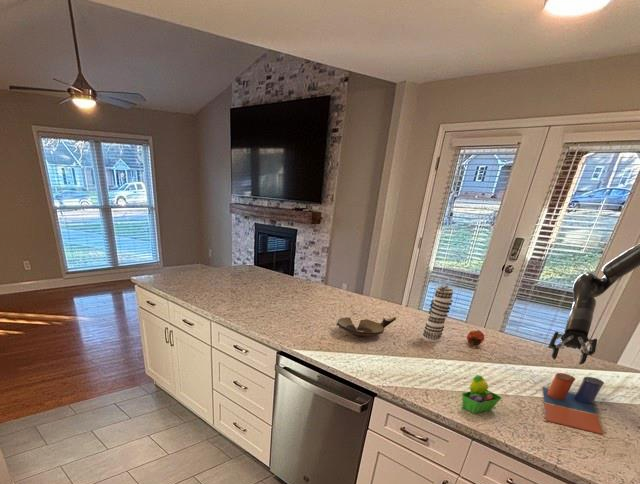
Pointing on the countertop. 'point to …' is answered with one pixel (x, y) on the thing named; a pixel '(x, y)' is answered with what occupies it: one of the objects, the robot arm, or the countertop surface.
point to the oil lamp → (364, 326)
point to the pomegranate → (475, 337)
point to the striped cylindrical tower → (438, 313)
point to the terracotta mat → (573, 418)
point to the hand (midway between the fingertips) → (567, 361)
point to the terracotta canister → (560, 386)
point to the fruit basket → (479, 396)
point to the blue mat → (569, 402)
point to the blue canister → (588, 390)
